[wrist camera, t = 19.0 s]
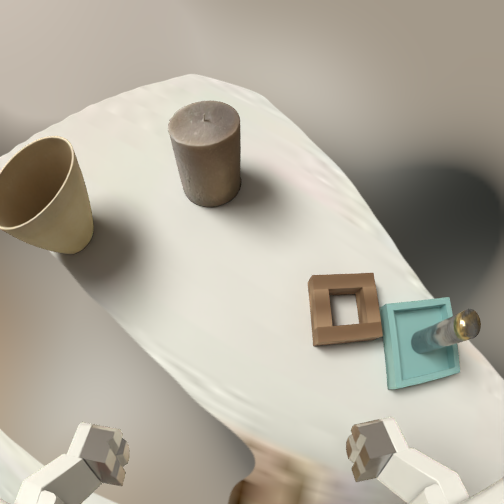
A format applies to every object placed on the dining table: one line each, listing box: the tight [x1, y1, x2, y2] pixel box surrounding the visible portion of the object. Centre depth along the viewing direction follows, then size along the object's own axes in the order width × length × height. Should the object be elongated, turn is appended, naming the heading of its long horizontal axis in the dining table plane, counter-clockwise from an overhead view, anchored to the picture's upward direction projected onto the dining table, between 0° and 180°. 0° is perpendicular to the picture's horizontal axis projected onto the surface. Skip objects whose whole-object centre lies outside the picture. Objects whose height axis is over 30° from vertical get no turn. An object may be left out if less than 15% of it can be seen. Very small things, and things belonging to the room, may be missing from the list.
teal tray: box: [379, 297, 460, 389], centre depth 38 cm, size 12×12×2 cm
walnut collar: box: [308, 273, 383, 346], centre depth 40 cm, size 9×9×3 cm
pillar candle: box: [168, 101, 241, 207], centre depth 42 cm, size 10×10×15 cm
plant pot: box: [0, 136, 94, 254], centre depth 37 cm, size 15×15×16 cm
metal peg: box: [411, 309, 481, 354], centre depth 33 cm, size 4×4×12 cm
